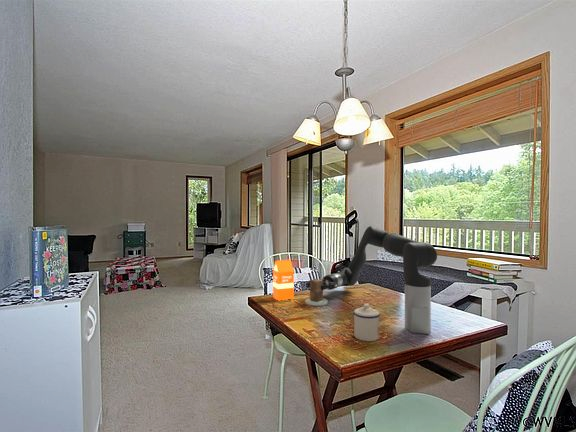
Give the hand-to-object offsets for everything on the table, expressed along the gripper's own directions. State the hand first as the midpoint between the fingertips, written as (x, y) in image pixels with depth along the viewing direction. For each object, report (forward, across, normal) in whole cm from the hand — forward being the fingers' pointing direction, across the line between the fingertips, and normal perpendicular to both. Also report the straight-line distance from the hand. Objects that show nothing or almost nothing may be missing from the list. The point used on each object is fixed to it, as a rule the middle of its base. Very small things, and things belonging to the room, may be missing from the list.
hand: (314, 286), depth 155 cm
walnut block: (-2, 0, +7) cm, 7 cm away
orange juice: (+3, -18, +9) cm, 20 cm away
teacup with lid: (+20, +38, +8) cm, 44 cm away
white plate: (-2, 0, +8) cm, 8 cm away
